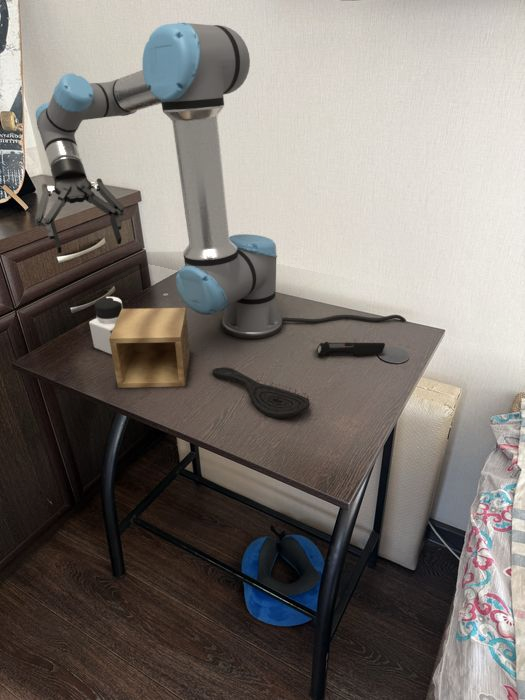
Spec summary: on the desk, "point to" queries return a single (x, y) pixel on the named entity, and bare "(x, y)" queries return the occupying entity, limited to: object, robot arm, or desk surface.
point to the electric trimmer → (349, 348)
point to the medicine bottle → (105, 322)
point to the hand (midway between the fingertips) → (90, 245)
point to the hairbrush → (267, 395)
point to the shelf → (150, 347)
